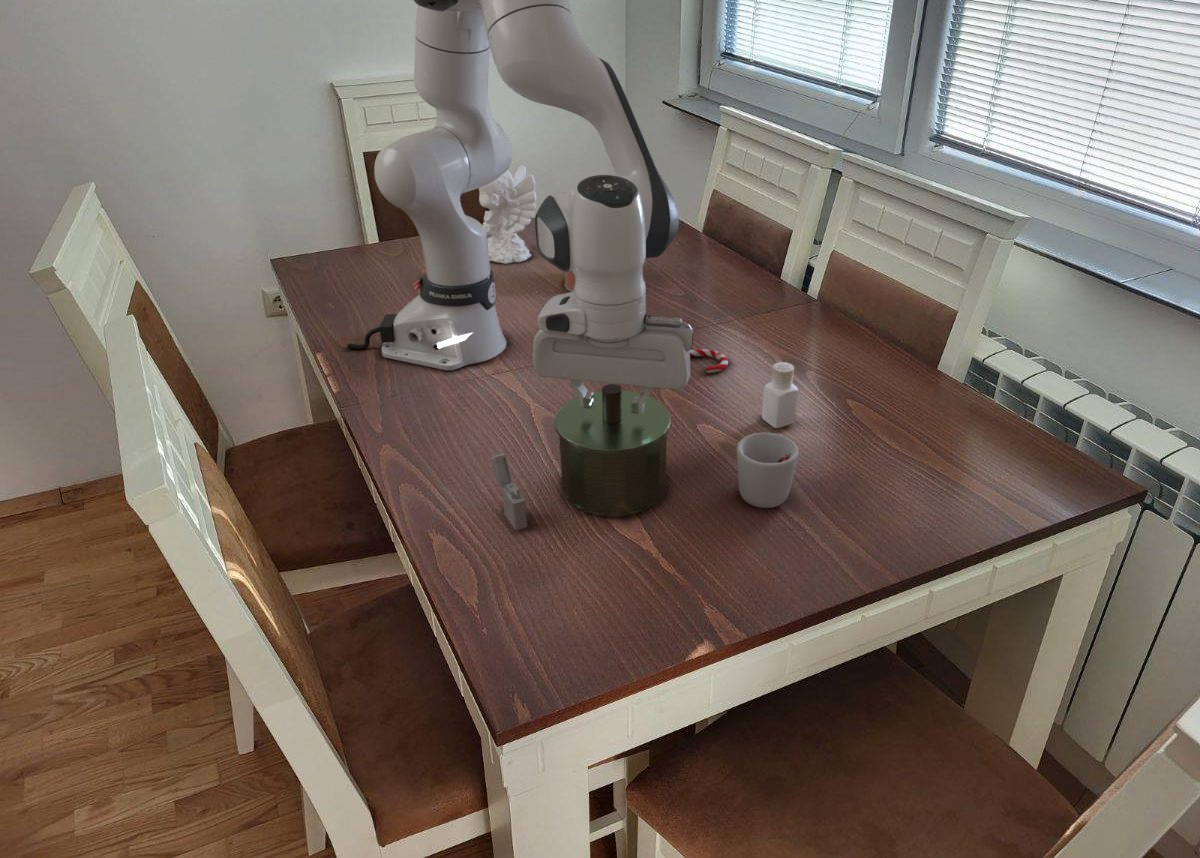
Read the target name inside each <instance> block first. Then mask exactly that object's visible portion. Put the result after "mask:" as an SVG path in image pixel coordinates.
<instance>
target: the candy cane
mask: <svg viewBox="0 0 1200 858" xmlns="http://www.w3.org/2000/svg"><path fill="white" fill-rule="evenodd" d="M689 353H690V359H691V358H700V357H703V358H704V357H705V358H712V359H715V360H717V361H719V364H715V365H711V366H706V367H705V369H706V370H705V371H706V372H705V373H706V374H715V373H718V372H721V371H723V370H725V369H726V368H727V366H728V364H729V360H728V358H727V356H726V355H725V354H724V353H722V352H719V351H716V350H712V349H703V348H699V349H697V348H696V349H690V350H689Z"/></svg>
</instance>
